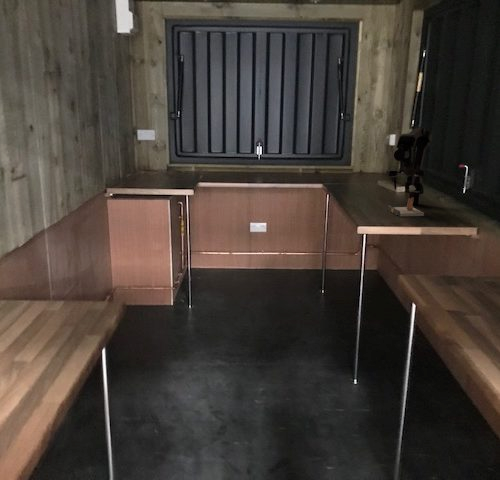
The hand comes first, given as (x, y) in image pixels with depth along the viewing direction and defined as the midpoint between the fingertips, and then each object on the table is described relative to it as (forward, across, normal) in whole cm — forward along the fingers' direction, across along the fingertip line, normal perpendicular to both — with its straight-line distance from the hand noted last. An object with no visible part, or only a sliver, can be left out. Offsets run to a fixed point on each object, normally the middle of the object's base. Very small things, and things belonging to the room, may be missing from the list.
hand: (403, 189), depth 263 cm
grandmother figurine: (+9, 0, -10) cm, 14 cm away
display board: (+10, -2, -9) cm, 14 cm away
